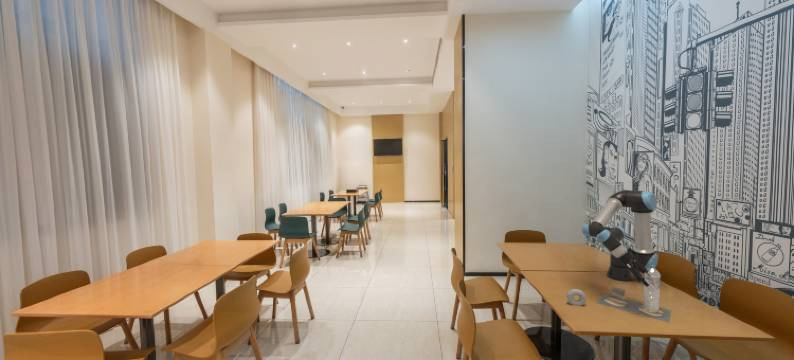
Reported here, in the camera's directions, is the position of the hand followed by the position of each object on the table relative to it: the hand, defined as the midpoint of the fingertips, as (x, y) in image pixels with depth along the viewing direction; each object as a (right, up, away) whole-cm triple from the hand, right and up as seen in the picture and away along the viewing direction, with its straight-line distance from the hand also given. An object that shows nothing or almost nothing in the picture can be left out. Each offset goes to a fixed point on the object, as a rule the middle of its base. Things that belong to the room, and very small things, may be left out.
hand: (655, 287), depth 169 cm
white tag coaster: (-11, -13, +14) cm, 22 cm away
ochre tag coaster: (0, -14, +3) cm, 14 cm away
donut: (-36, -15, +11) cm, 41 cm away
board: (-6, -15, +8) cm, 18 cm away
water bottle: (-1, -13, +2) cm, 14 cm away
